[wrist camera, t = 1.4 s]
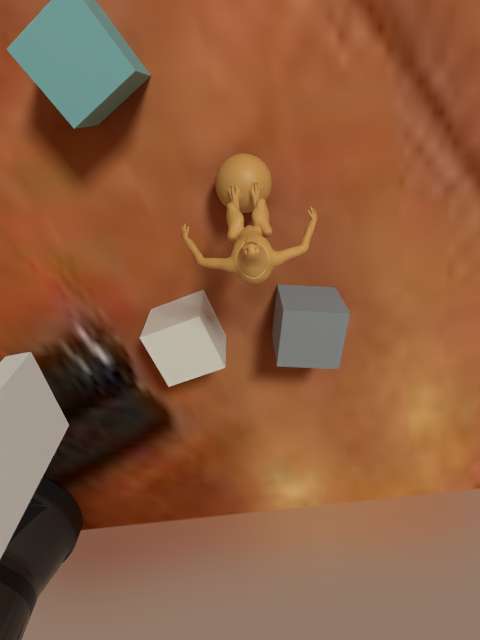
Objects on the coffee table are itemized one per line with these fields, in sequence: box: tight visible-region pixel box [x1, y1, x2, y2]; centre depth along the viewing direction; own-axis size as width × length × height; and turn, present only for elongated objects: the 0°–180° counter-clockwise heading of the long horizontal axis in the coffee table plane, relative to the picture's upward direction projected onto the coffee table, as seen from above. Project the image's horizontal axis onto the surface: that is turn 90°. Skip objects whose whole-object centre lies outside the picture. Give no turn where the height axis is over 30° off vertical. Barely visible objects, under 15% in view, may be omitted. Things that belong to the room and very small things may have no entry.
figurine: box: [181, 154, 317, 285], centre depth 26 cm, size 8×6×12 cm
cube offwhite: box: [140, 290, 226, 387], centre depth 34 cm, size 5×5×5 cm
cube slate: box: [272, 285, 350, 369], centre depth 34 cm, size 5×5×5 cm
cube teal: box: [7, 0, 151, 129], centre depth 25 cm, size 5×5×5 cm
